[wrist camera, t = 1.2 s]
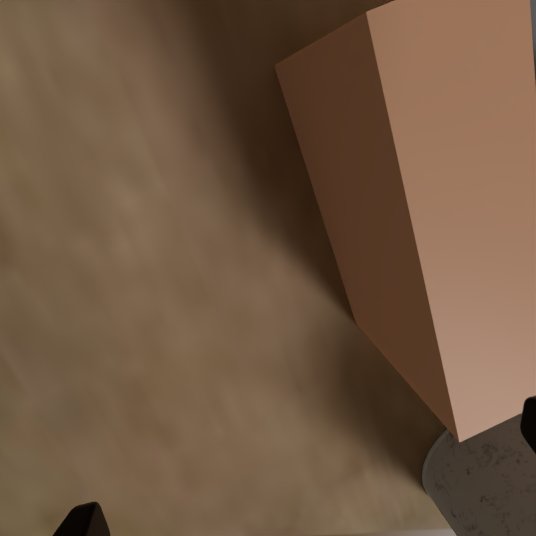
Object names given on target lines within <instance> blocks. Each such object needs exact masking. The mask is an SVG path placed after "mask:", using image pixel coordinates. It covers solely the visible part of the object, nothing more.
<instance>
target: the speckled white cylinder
mask: <svg viewBox="0 0 536 536" xmlns="http://www.w3.org/2000/svg"><path fill="white" fill-rule="evenodd" d="M521 416H522V413H520V414H518V415H516V416H514V417H512V418H510V419H508V420H506V421H504V422H502V423H500V424H497V425H495V426H493V427H491V428H489V429H487V430H485V431H483V432H481V433H479V434H476V435H474V436H472V437H470V438H468V439H466V440H464V441H462V442H460V443H459V441H458V440H457V439H456V438H455V437H454V436H453V435H452V433H451V432H450V431H449V430H448V429H447V428H446V430H445V431H444V432H443V433H442V434H441V435H440V436H439V437H438V438H437V439H436V441H435V442H434V444H433V445H432V447H431V448H430V450H429V451H428V453H427V456H426V458H425V461H424V463H423V469H422V483H423V487H424V489H425V491H426V493H427V495H428V496H429V497H430V498H431V499H432V500H433V501H434V503H435V504H436V506H437V507H438V509H439V510H440V512H441V513H442V515H443V516H444V518H445V519H446V520H447V522H448V523H449V525H450V526H451V528H452V529H453V531H454V532H455V534H456V535H457V536H536V454H535V453H534V451H533V450H532V449H531V447H530V446H529V445H528V443H527V442H526V440H525V439H524V437H523V435H522V433H521V430H520V421H521Z"/></svg>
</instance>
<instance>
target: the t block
mask: <svg viewBox="0 0 536 536" xmlns="http://www.w3.org/2000/svg"><path fill="white" fill-rule="evenodd" d="M274 67H275V70H276V73H277V76H278V80H279V83H280V86H281V89H282V92H283V95H284V99H285V102H286V105H287V108H288V111H289V114H290V117H291V121H292V124H293V127H294V130H295V133H296V136H297V139H298V143H299V146H300V149H301V152H302V155H303V158H304V162H305V165H306V168H307V171H308V174H309V177H310V180H311V184H312V187H313V190H314V193H315V196H316V199H317V203H318V206H319V209H320V212H321V215H322V218H323V221H324V225H325V228H326V231H327V234H328V237H329V240H330V243H331V247H332V250H333V253H334V256H335V259H336V262H337V266H338V269H339V272H340V275H341V278H342V281H343V284H344V288H345V291H346V294H347V297H348V300H349V303H350V306H351V310H352V313H353V316H354V319H355V322H356V325H357V326H358V327H359V328H360V329H361V330H362V331H363V333H364V334H365V335H366V336H367V337H368V338H369V339H370V341H371V342H372V343H373V344H374V345H375V346H376V347H377V349H378V350H379V351H380V352H381V353H382V354H383V355H384V357H385V358H386V359H387V360H388V361H389V362H390V363H391V365H392V366H393V367H394V368H395V369H396V370H397V372H398V373H399V374H400V375H401V376H402V377H403V378H404V380H405V381H406V382H407V383H408V384H409V385H410V386H411V388H412V389H413V390H414V391H415V392H416V393H417V394H418V396H419V397H420V398H421V399H422V400H423V401H424V402H425V404H426V405H427V406H428V407H429V408H430V409H431V411H432V412H433V413H434V414H435V415H436V416H437V417H438V419H439V420H440V421H441V422H442V423H443V424H444V425H445V427H446V428H447V429H448V430H449V431H450V432H451V433H452V435H453V436H454V437H455V438H456V439H457V440H458V441H459V443H460V442H462V441H464V440H466V439H468V438H470V437H472V436H474V435H476V434H479V433H481V432H483V431H485V430H487V429H489V428H491V427H493V426H495V425H497V424H500V423H502V422H504V421H506V420H508V419H510V418H512V417H514V416H516V415H518V414H520V413H522V411H523V405H524V401H525V400H526V399H527V398H528V397H532V396H536V80H535V70H534V55H533V40H532V24H531V9H530V0H394V1H392V2H389V3H387V4H384V5H382V6H379V7H377V8H374V9H372V10H369V11H367V12H365V13H363V14H361V15H360V16H358V17H356V18H354V19H353V20H351V21H349V22H348V23H346V24H344V25H342V26H341V27H339V28H337V29H336V30H334V31H332V32H330V33H329V34H327V35H325V36H324V37H322V38H320V39H318V40H317V41H315V42H313V43H312V44H310V45H308V46H306V47H305V48H303V49H301V50H300V51H298V52H296V53H294V54H293V55H291V56H289V57H288V58H286V59H284V60H282V61H281V62H279V63H277V64H276V65H274Z"/></svg>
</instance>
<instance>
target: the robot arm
mask: <svg viewBox="0 0 536 536" xmlns="http://www.w3.org/2000/svg"><path fill="white" fill-rule="evenodd" d="M520 430H521V433H522V435H523V437H524V439H525V440H526V442H527V443H528V445H529V446H530V447H531V449H532V450H533V451H534V453H535V454H536V396H532V397H528V398H527V399H526V400H525V401H524V405H523V411H522V416H521V421H520ZM53 536H110V531H109V528H108V525H107V522H106V520H105V517H104V514H103V512H102V509H101V506H100V505H99V503H98V502H90V503H86V504H82V505H78V506H76V507H74V508H73V509H72V510H71V511H70V512H69V514H68V515H67V516H66V518H65V519H64V521H63V522H62V523H61V525H60V526H59V527H58V529H57V530H56V532H55V533H54V534H53Z"/></svg>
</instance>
